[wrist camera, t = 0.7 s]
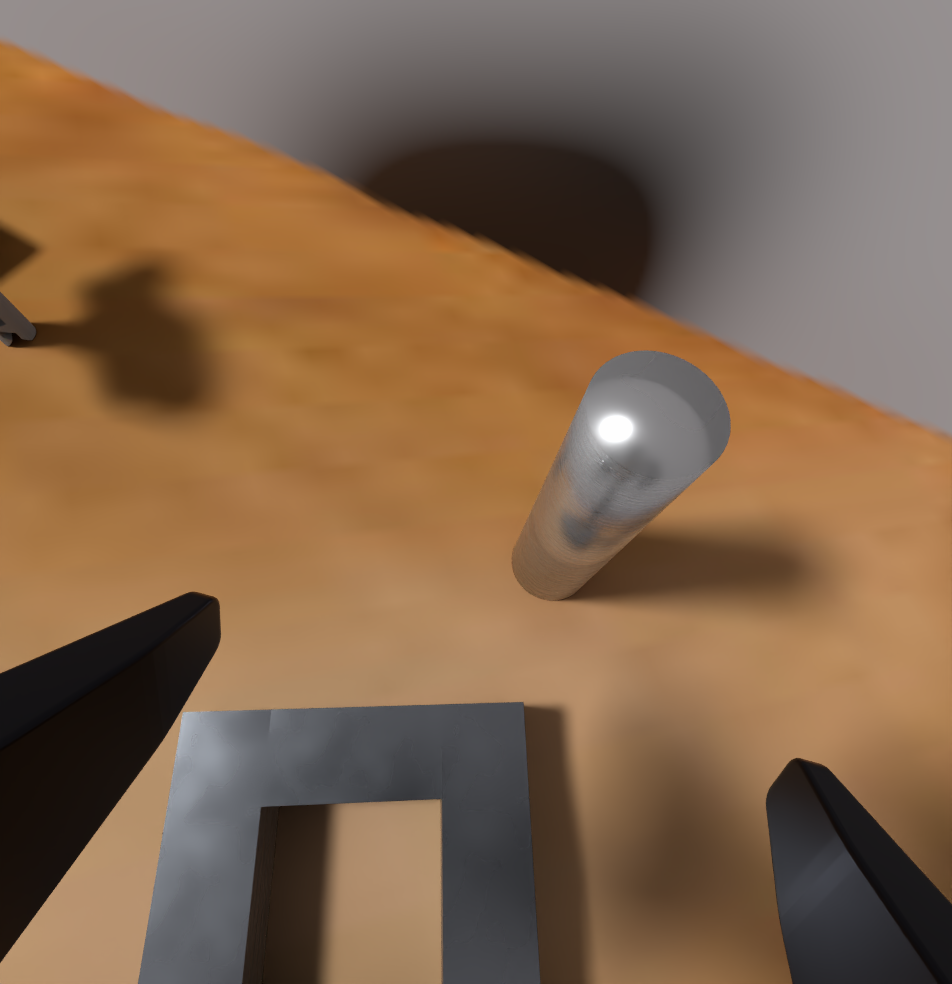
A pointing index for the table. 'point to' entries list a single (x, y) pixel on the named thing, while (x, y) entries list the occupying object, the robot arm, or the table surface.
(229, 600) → the table surface
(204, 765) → the block
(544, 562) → the axle
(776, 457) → the table surface
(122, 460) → the table surface
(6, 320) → the mechanical component
